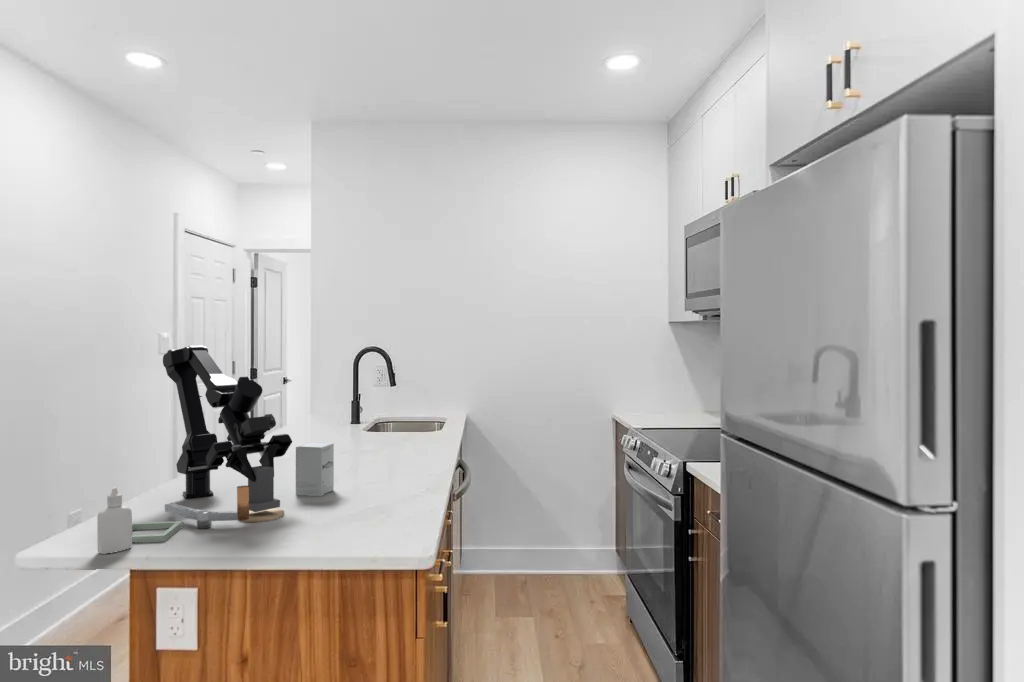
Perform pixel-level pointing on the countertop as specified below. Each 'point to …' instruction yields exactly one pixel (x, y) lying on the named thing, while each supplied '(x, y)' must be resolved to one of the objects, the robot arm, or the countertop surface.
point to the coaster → (265, 515)
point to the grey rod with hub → (207, 517)
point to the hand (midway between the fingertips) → (263, 479)
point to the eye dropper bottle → (114, 525)
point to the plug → (262, 489)
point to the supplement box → (314, 469)
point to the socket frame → (162, 537)
